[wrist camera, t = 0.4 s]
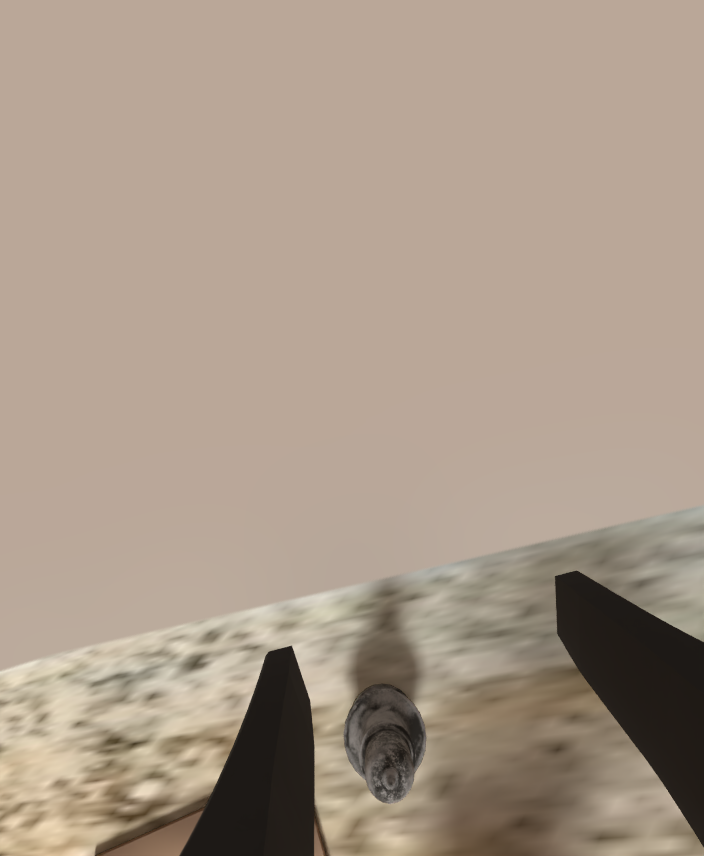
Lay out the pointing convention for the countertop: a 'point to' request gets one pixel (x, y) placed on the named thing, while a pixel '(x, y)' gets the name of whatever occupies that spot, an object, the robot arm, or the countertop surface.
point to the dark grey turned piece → (385, 741)
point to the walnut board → (177, 839)
